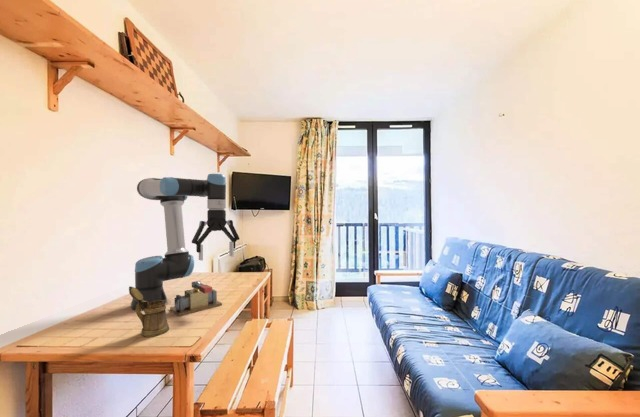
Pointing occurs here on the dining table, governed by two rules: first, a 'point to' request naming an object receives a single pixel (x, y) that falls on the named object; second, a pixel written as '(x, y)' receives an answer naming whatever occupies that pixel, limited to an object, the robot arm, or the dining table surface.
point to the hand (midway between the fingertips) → (216, 258)
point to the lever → (202, 287)
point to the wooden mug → (150, 314)
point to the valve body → (194, 302)
